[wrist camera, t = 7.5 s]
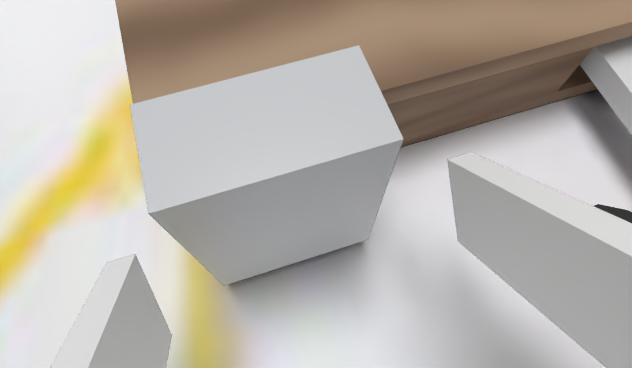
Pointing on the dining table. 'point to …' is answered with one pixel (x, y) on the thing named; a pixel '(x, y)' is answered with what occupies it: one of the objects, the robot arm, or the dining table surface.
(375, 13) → the plunger housing
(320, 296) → the dining table surface
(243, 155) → the grey plunger
